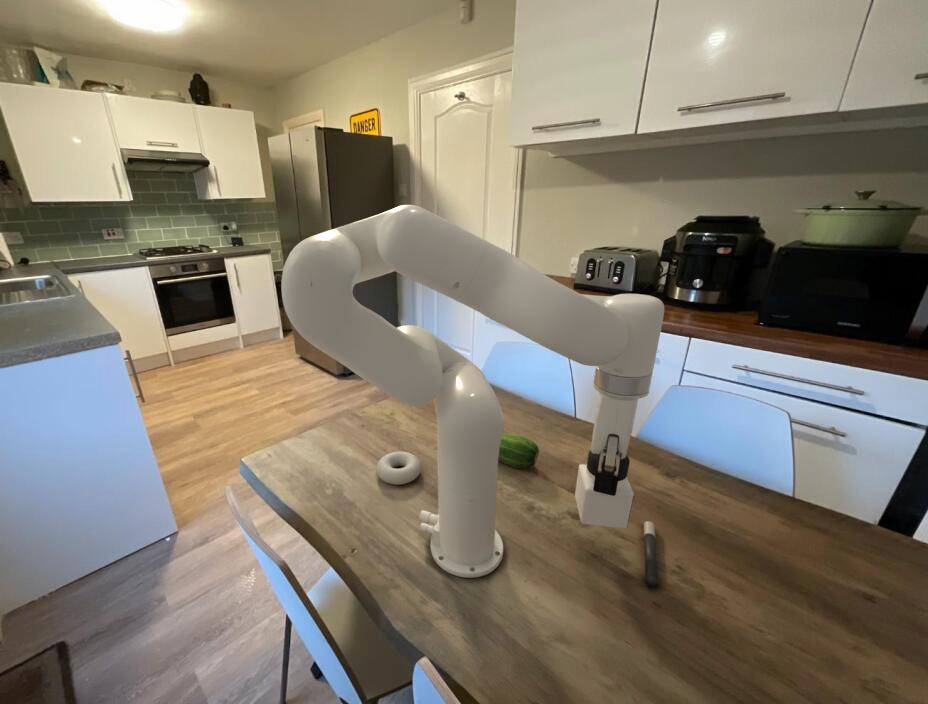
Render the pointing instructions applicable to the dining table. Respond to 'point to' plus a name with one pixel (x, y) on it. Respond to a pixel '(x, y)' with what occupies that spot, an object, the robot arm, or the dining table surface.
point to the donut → (398, 475)
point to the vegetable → (518, 451)
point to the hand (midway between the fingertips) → (605, 477)
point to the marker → (650, 554)
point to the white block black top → (603, 496)
